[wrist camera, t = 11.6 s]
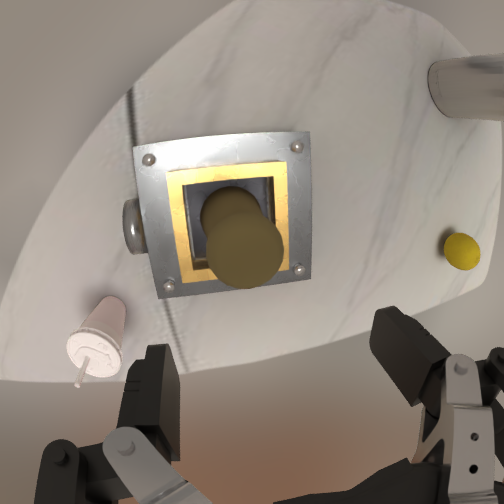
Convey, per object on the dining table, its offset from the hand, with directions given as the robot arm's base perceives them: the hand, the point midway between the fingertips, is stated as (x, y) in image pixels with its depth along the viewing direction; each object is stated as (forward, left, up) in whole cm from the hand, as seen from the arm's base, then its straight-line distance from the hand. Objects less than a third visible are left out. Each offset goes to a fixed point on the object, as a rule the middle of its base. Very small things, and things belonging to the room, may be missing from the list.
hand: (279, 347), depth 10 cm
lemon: (-35, +8, -23) cm, 43 cm away
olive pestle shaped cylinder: (0, 0, -19) cm, 19 cm away
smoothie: (+16, +11, -23) cm, 30 cm away
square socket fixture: (0, 0, -23) cm, 23 cm away
